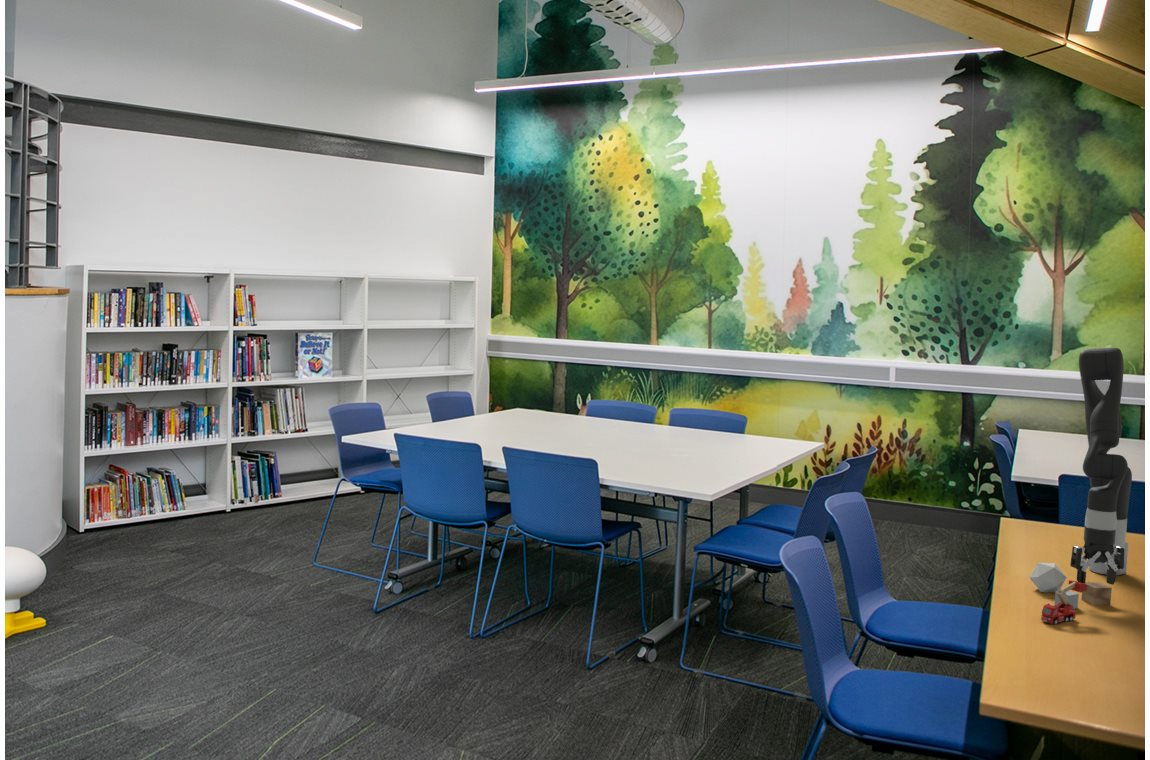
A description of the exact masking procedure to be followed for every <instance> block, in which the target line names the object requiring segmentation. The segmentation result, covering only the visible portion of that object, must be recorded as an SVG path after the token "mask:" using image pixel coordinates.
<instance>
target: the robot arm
mask: <svg viewBox="0 0 1150 760" xmlns="http://www.w3.org/2000/svg"><path fill="white" fill-rule="evenodd" d="M1124 366H1125V365H1124V356H1123V352H1122V350H1121V349H1120V348H1118V347H1098V348H1086V349H1083V350H1081V351H1080V352H1079V356H1078V368H1079V375H1080V376H1079V377H1080V379H1081V380H1080V381H1081V386H1082V391H1083V392H1082V393H1083V398H1084V399H1083V400H1084V415H1085V418H1084V419H1085V426H1086V427H1085V429H1086V436H1087V443H1088V449H1087V452H1086V454H1085V458H1084V459H1083V464H1082V472H1083V473H1084V474H1085V476H1086V477H1087V478H1089V485H1090V488H1089V490H1088V493H1087V503H1086V504H1087V506H1086V512H1085V518H1084V528H1083V541H1084V545H1083V546H1078V545H1073V546H1072V550H1071V557H1070V567H1072V568H1074V569H1076V572H1077V573H1076V581H1077V582H1080V583H1084V584H1085V582H1086V580H1087V579H1086V578H1087V569H1089V570H1090V571H1091V572H1093V573H1096V574H1101V575H1106V578H1105V579H1106V580H1105V581H1106V583H1107V584H1108V585H1115V583H1116V579H1117V578H1116V577H1117V576H1121V575H1123V574H1127V570H1128V569H1127V568H1128V566H1127V565H1128V556H1129V555H1128V553H1129V542H1127V541H1126V540H1127V539H1126V538H1127V526H1128V514H1129V506H1130V505H1129V503H1130V495H1131V487H1132V480H1133V472H1132V469H1131V468H1130V467H1129V465H1128V461H1127V459H1126V457H1125V456H1123V455H1122V454H1116V453H1108V452H1109V451H1110V450H1111V449H1113V448H1114V449H1115V448H1116V447H1118V445H1119V443H1120V439H1121V436H1122V433H1123V425H1122V415H1121V412H1120V407H1121V400H1122V399H1121V398H1122V394H1123V393H1122V391H1123V381H1124V371H1125V370H1124V368H1125V367H1124ZM1096 381H1109V385H1108V389H1107V391H1106V393H1103V392H1102V391H1101V389H1100V388H1099V386H1098V385H1097V383H1096Z"/></svg>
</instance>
